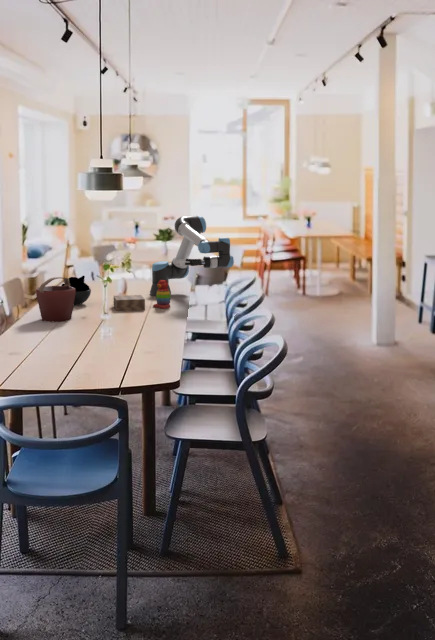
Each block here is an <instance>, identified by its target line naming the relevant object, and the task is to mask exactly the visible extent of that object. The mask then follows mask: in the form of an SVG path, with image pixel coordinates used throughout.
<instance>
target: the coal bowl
mask: <svg viewBox="0 0 435 640" xmlns="http://www.w3.org/2000/svg"><path fill="white" fill-rule="evenodd" d="M85 278H86V277H85V275H82V276H80V277H75V276H70V277H69V278H68V279H69V281H68V282H69V283H70V287H73V288H75V291H76V294H75V300H74V305H73V306H75V305H76V306H79V305H81V304H84V303H85V302H87V301H88V299H89V298H90V297H91V293H92V288H91V287H90V286H89V285H88V284H87V283H86V282H85ZM60 286H64V283H62V284H61V285H60Z"/></svg>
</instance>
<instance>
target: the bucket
mask: <svg viewBox="0 0 435 640" xmlns="http://www.w3.org/2000/svg"><path fill="white" fill-rule="evenodd" d="M57 279H62V280H63V284H64V286H61V285H49V284H50V283H51V282H53V281H54V280H57ZM68 281H69V278H67V277H61V276H57V277H56V276H55V277H51V278H48V279H47V280H45V281H44V282H43V283H42V284H41V285H40V286H39V287H37V288H36V289H35V295H36V299H37V303H38V308H39V312H40V317H41V321H42V322H48V323H58V322H59V323H61V322H67V321H70V320H72V318H73V317H72V316H73V310H74V306H75V305H74V300H75V294H76V291H75V288H73V287H70V283H69V282H68ZM47 285H48V286H47Z"/></svg>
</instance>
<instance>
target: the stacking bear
mask: <svg viewBox="0 0 435 640" xmlns="http://www.w3.org/2000/svg"><path fill="white" fill-rule="evenodd" d="M157 286H158V288H159V289H158V291H157V294H156V296H155V298H156V299H155V300H156V303H155V304H153V305H152V307H153V308H155V309H156V308H157V309H158V308H159V309H163V310H165V309H169V307H170V308H171V304H170V303H171V295H170V292H169V290H168V289H167V287H168V282H167V280H159V282H158V284H157Z"/></svg>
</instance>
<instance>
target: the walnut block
mask: <svg viewBox="0 0 435 640" xmlns="http://www.w3.org/2000/svg"><path fill="white" fill-rule="evenodd" d="M113 308H114V309H115V311H116V312H124V311H125V312H126V311H128V312H129V311H132V312H133V311H146V299H145V298H144V297H143V295H141V294H129V295H128V294H127V295H123V294H122V295H113Z"/></svg>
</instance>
